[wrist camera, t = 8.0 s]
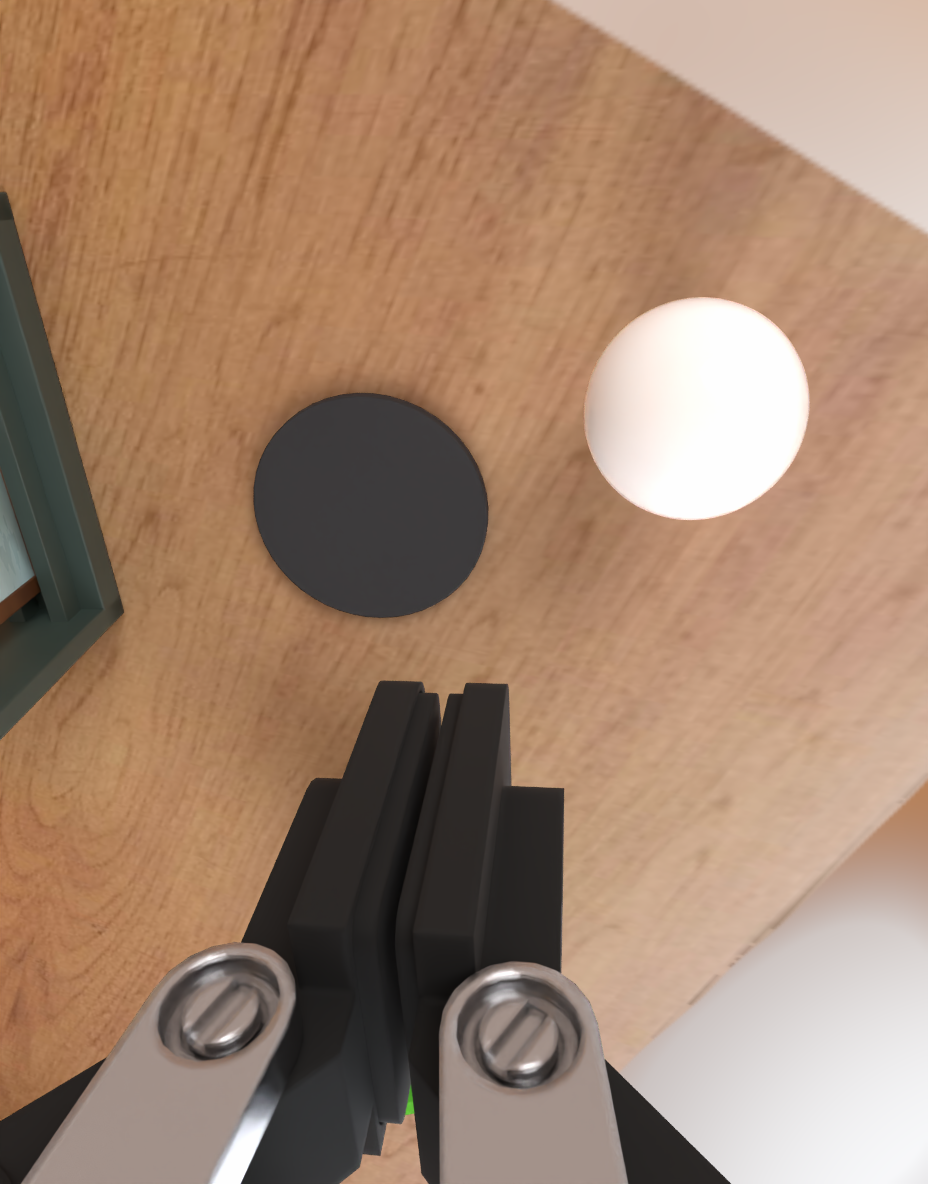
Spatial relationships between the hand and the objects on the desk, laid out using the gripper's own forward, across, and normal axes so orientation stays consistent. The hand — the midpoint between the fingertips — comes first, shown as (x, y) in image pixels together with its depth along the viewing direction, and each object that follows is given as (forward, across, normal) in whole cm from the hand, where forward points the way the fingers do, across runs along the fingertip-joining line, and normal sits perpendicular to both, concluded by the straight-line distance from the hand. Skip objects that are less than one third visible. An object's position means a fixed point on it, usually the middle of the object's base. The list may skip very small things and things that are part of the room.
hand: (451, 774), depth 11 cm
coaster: (+24, +7, +6) cm, 26 cm away
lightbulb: (+24, -5, 0) cm, 25 cm away
